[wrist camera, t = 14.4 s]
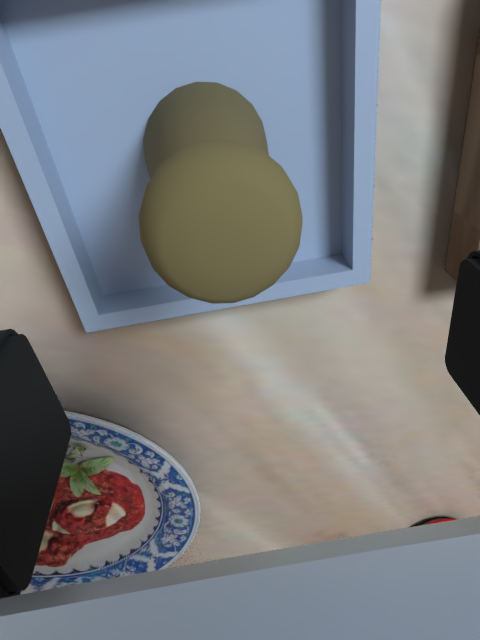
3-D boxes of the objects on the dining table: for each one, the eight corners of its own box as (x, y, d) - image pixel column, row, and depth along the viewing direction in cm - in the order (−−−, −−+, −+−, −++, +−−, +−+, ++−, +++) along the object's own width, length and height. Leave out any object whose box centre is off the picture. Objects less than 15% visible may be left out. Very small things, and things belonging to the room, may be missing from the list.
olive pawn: (291, 152, 23) (366, 248, 14) (205, 231, 25) (222, 362, 16) (206, 48, 20) (232, 85, 11) (116, 148, 22) (73, 250, 13)
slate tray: (357, -89, 18) (385, -104, 16) (353, 258, 28) (370, 282, 25) (-33, -25, 18) (-66, -30, 16) (94, 303, 27) (86, 332, 25)
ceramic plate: (70, 603, 48) (65, 635, 46) (-201, 511, 35) (-229, 548, 33) (259, 490, 41) (264, 521, 38) (1, 321, 28) (-16, 351, 25)
